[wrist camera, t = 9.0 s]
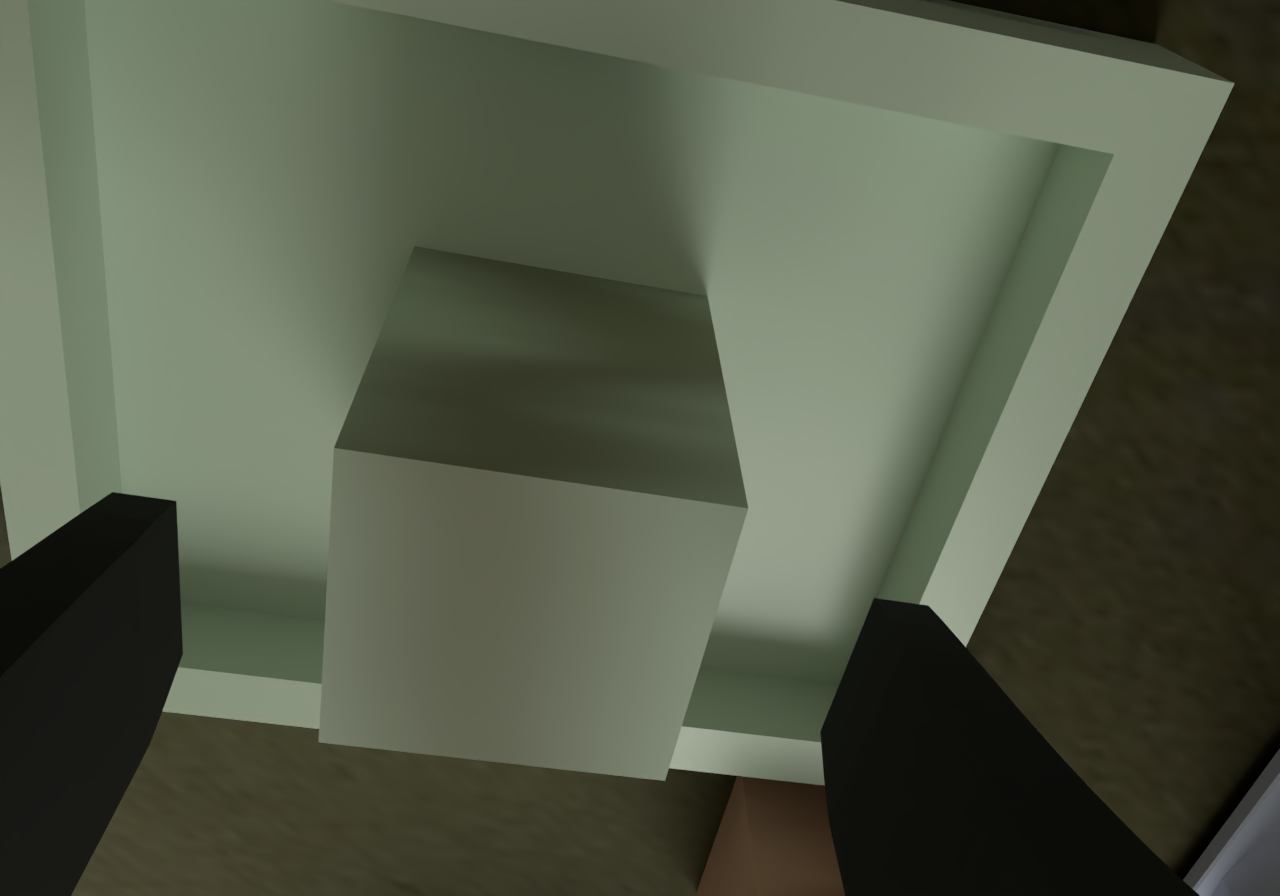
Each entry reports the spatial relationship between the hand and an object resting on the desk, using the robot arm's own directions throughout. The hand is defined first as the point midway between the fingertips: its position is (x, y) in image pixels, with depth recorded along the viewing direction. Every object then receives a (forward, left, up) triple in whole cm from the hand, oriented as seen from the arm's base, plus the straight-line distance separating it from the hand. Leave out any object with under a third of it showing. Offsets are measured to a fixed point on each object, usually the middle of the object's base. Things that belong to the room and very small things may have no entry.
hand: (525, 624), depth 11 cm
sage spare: (0, 0, -5) cm, 5 cm away
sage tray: (0, 0, -6) cm, 6 cm away
